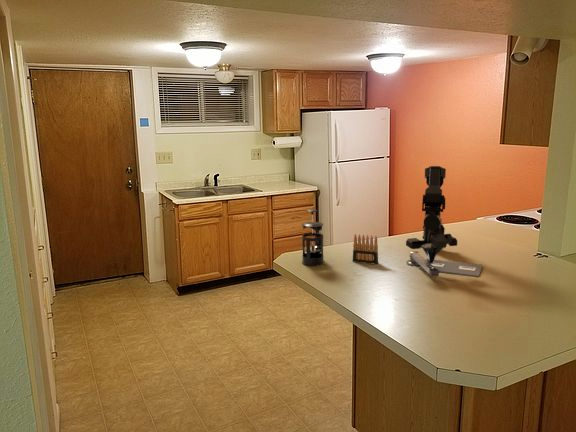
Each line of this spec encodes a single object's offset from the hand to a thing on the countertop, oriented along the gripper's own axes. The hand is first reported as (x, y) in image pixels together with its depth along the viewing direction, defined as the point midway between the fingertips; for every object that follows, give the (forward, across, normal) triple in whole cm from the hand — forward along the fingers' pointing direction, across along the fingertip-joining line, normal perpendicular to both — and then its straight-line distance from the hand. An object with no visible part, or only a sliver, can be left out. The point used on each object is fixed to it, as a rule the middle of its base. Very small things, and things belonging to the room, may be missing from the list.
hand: (430, 263), depth 182 cm
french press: (+4, -41, +25) cm, 48 cm away
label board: (+4, +11, +4) cm, 12 cm away
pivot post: (+4, -1, +13) cm, 14 cm away
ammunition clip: (+4, -20, +20) cm, 28 cm away
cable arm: (+1, -2, +2) cm, 3 cm away
